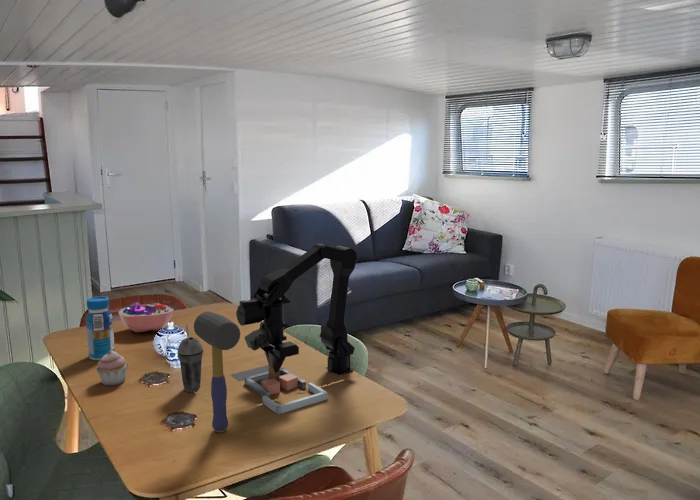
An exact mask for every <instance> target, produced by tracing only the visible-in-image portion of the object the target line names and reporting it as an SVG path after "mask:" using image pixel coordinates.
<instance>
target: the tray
mask: <svg viewBox="0 0 700 500" xmlns="http://www.w3.org/2000/svg"><path fill="white" fill-rule="evenodd" d="M307 388H308V389H307V390H308V391H309V392H311V393H312V395H309V396H305V397H301V398H297V399H295V400H292V401H289V402H286V403H283V404H279V403H277V402H276V401H274V400H272V399H271V397H270V398H268V397H267V396H261V397H262V398H261V399H262V404H263V405H265V407H267V408H268V409H270V410H271V411H273V412H274V413H275V414H277V415H281V414H285V413H288V412H290V411H291V412H292V411H294V410H298V409H300V408H303V407H307V406H310V405H313V404H317V403H319V402H320V403H321V402H323V401H326V400H328V397H329V395H328V391H326V390H324V389H323V388H321V387H319V386H318V385H316V384H314V383H313V382H309V383H308V384H307Z"/></svg>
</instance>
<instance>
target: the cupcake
mask: <svg viewBox="0 0 700 500" xmlns="http://www.w3.org/2000/svg"><path fill="white" fill-rule="evenodd" d="M129 365H130V364H129V363H128V362H127V361H126V359H125V358H124V357H123V356H122V355H120V354H119V353H118V352H117V351H116V350H115V351H111V350H110V351H109V354H106V355H104V356H103V357H102V359H101V360H98V363H97V367H96V368H95V371H96V372H97V374H98V375H99V378H100V380H101V382H102V383H101V384H103V385H104V386H109V387H110V386H116V385H117V386H118V385H121V384H123V383H124V382H125V380H126V375H127V370H128V368H129Z"/></svg>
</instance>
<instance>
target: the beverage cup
mask: <svg viewBox="0 0 700 500" xmlns="http://www.w3.org/2000/svg"><path fill="white" fill-rule="evenodd" d="M185 330H186V338H183V339H182V340H181V342H180V343H179V344H178V348H177V357H178V360H179V366H180V372H181V379H182V380H181V381H182V385H183V390H184V392H186V393H196V392H197V390H199V388H201V381H202V361H203V360H202V359H203V356H204V355H203V354H204V353H203V352H204V349H203V345H202V342H201V341H200V340H199V339H197V338H195V337H190V334H189V326H188V324H185Z"/></svg>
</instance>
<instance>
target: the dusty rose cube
mask: <svg viewBox="0 0 700 500" xmlns="http://www.w3.org/2000/svg"><path fill="white" fill-rule="evenodd" d="M261 383H262V387H264V388H265V389H266V390H268V391H269V392H270V396H271V395H276V394H280V393H281V387H280V383H279V382H278V381H277V380H276V379H275V378H273V379H268V380H264V381H261Z"/></svg>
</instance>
